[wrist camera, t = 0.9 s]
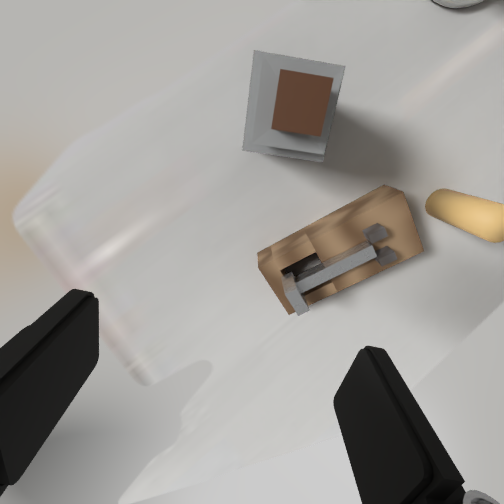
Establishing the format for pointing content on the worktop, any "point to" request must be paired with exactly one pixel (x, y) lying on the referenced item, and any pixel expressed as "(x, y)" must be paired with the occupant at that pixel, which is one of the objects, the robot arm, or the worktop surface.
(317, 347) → the worktop surface
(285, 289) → the lock pin
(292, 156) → the perfume bottle
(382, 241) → the socket block
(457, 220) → the peg
